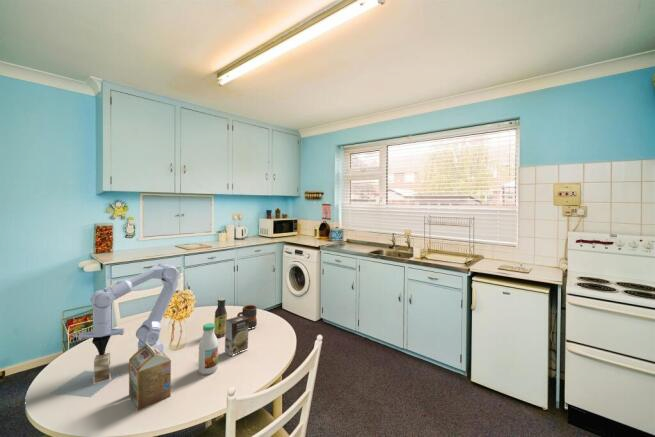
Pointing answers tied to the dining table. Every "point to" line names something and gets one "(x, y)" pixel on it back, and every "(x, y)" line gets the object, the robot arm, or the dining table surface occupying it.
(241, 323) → the coffee box
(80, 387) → the light blue flat plate
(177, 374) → the dining table surface
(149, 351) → the milk carton
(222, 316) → the sauce bottle
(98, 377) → the walnut block
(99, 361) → the birch block
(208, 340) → the milk bottle
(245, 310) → the mug
